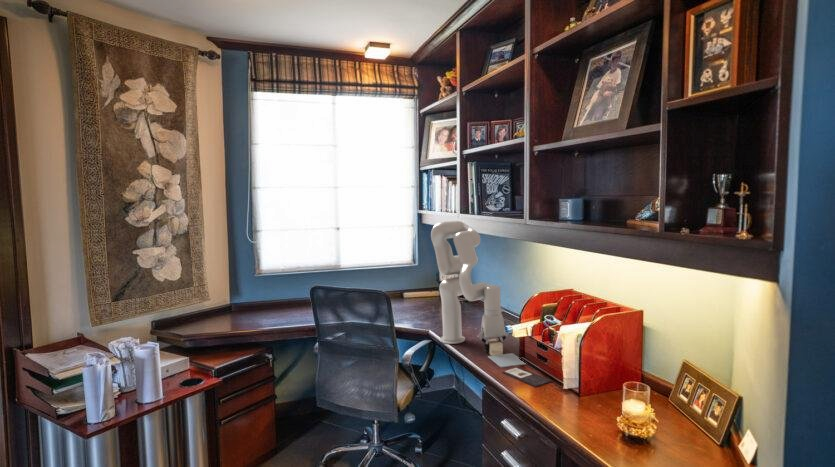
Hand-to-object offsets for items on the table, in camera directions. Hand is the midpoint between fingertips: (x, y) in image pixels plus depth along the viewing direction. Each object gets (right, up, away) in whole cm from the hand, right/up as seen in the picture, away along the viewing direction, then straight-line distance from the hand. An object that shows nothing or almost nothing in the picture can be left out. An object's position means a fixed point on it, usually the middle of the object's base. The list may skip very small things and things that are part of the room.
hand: (493, 350), depth 208 cm
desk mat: (+4, -1, -11) cm, 12 cm away
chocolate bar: (+8, -3, -31) cm, 32 cm away
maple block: (0, -1, 0) cm, 1 cm away
